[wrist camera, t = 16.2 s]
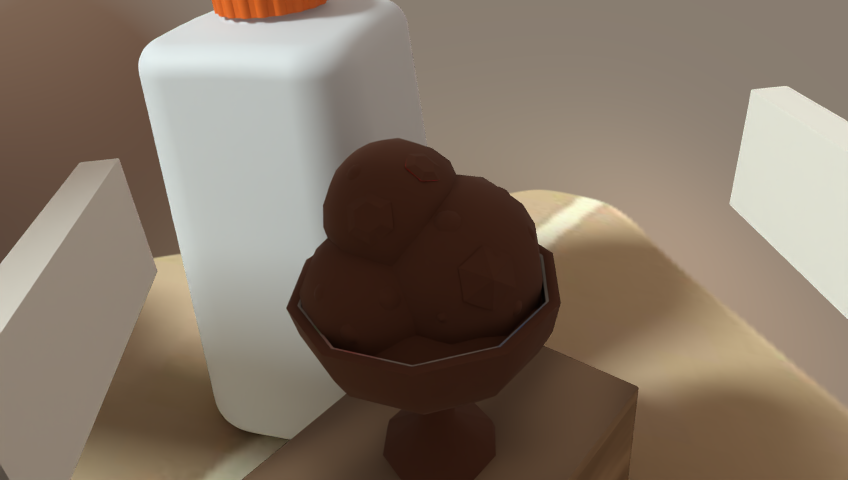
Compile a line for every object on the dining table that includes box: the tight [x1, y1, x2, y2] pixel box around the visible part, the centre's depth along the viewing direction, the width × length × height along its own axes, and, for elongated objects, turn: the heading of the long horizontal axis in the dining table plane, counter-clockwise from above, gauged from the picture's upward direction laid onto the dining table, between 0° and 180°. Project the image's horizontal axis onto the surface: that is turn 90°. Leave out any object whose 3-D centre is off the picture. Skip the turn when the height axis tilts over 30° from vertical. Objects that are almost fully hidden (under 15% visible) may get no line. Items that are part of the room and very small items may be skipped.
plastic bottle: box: [139, 0, 427, 440], centre depth 42 cm, size 15×15×28 cm
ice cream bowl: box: [286, 138, 560, 480], centre depth 28 cm, size 11×11×15 cm
